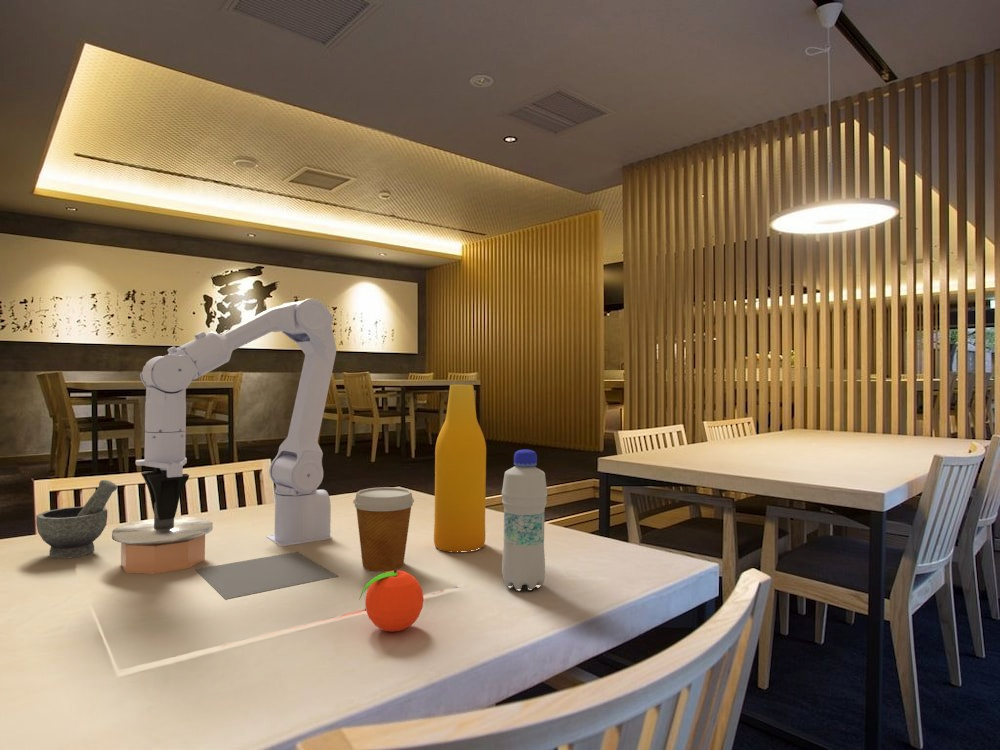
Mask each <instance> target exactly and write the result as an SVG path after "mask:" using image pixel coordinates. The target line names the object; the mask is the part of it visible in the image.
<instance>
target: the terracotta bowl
mask: <svg viewBox="0 0 1000 750" xmlns="http://www.w3.org/2000/svg"><path fill="white" fill-rule="evenodd" d="M120 544H121V545H120V549H121V550H120V565H121V568H123V570H124V572H125V573H127V574H128V573H130V574H131V573H132V574H150V575H151V574H153V575H155V574H162V573H167V572H172V571H179V570H184V569H189V568H191V567H193V566H194V565H197V564H198V563H201V562H203V561H204V560H205V559H206V557H205V556H206V534H205V535H202V536H200V537H196V538H192V539H188V540H183V541H177V542H169V543H159V544H126V543H120Z"/></svg>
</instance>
